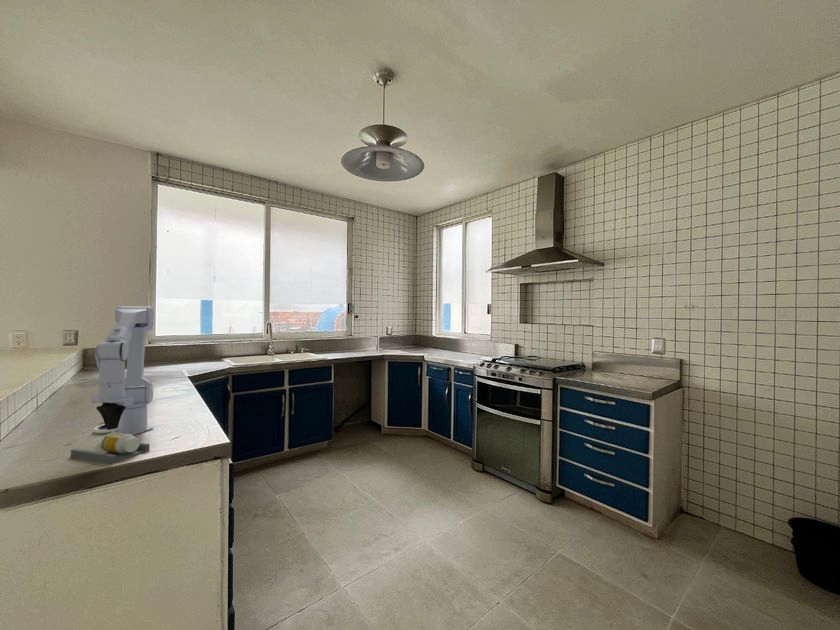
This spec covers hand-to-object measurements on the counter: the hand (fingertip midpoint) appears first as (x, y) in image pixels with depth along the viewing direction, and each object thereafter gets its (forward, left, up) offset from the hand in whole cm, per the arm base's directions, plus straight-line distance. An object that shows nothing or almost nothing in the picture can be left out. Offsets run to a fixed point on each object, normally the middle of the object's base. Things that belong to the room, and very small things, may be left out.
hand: (112, 428), depth 103 cm
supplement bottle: (-3, +1, -4) cm, 5 cm away
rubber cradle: (-1, 0, -7) cm, 7 cm away
